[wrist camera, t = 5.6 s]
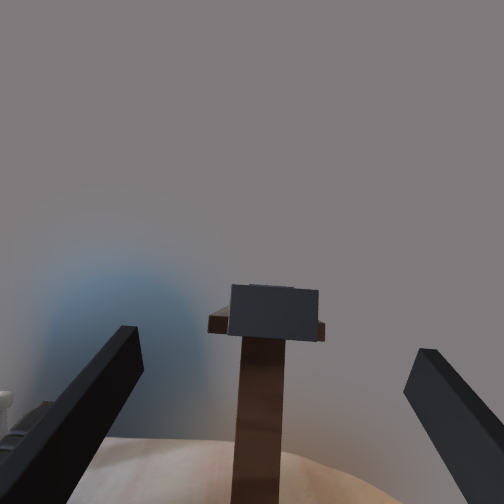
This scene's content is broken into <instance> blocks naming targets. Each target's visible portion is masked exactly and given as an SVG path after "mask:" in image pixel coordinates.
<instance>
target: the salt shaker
mask: <svg viewBox="0 0 504 504" xmlns="http://www.w3.org/2000/svg"><path fill="white" fill-rule="evenodd" d="M13 400H14V394H13V393H11V392H9V391H0V440H1V439H2V438H3V437H4V436H5V435H7V434H8V430H7V409H8V408H9V407H11V405H12V403H13Z"/></svg>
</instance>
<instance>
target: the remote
mask: <svg viewBox="0 0 504 504" xmlns="http://www.w3.org/2000/svg"><path fill="white" fill-rule="evenodd" d="M318 297H319V291H318V290H310V289H295V288H294V287H285V286H269V285H254V284H249V285H235V284H232V285H231V294H230V306H229V319H228V332H227V335H231V336H244V337H258V338H271V339H285V340H298V341H312V342H317V341H318Z"/></svg>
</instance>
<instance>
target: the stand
mask: <svg viewBox="0 0 504 504" xmlns="http://www.w3.org/2000/svg"><path fill="white" fill-rule="evenodd" d="M229 306H230V305H229ZM229 306H227V307H225V308H223V309H221V310H219V311H217V312H215V313H213V314H211V315H209V320H208V331H207V332H208V333H215V334H227V332H228V319H229ZM318 341H323V342H324V341H325V323H323V322H321V321H319V320H318ZM285 342H286V340H285V339H271V338H258V337H244V336H242V346H241V347H242V348H241V360H240V375H239V389H238V404H237V418H236V432H235V446H234V461H233V475H232V489H231V504H279V482H280V459H281V435H282V412H283V388H284V364H285Z"/></svg>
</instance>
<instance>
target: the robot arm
mask: <svg viewBox="0 0 504 504" xmlns="http://www.w3.org/2000/svg"><path fill="white" fill-rule="evenodd" d="M143 371H144V366H143V360H142V353H141V347H140V341H139V334H138V328H137V327H135V326H121V327H120V328H119V329H118V330H117V331H116V333H115V334H114V335H113V336H112V337H111V338H110V339H109V341H108V342H107V343H106V344H105V345H104V346H103V347H102V348H101V350H100V351H99V352H98V353H97V354H96V355H95V356H94V358H93V359H92V360H91V361H90V362H89V363H88V365H87V366H86V367H85V368H84V369H83V370H82V371H81V372H80V374H79V375H78V376H77V377H76V378H75V379H74V380H73V382H72V383H71V384H70V385H69V386H68V387H67V388H66V389H65V391H64V392H63V393H62V394H61V395H60V396H59V397H58V399H57V400H56V401H55V402H50V401H43V402H42V403H40V404H39V405H37V406H36V407H35V408H33V409H32V410H30V411H29V412H28V413H26V414H25V415H24V416H23V417H22V418H21V419H20V420H19V421H18V422H17V423H16V424H15V425H14V426H13V428H11V430H10V431H9V433H8V434H7V435H5V436H4V437H3V438H2V439H1V440H0V504H66V503H67V501H68V500H69V498H70V496H71V494H72V493H73V491H74V489H75V488H76V486H77V484H78V482H79V481H80V479H81V477H82V476H83V474H84V472H85V470H86V469H87V467H88V465H89V464H90V462H91V460H92V459H93V457H94V455H95V453H96V452H97V450H98V448H99V447H100V445H101V443H102V441H103V440H104V438H105V436H106V435H107V433H108V431H109V429H110V428H111V426H112V424H113V423H114V421H115V419H116V418H117V416H118V414H119V412H120V411H121V409H122V407H123V406H124V404H125V402H126V400H127V399H128V397H129V395H130V394H131V392H132V390H133V389H134V386H135V385H136V383H137V382H138V380H139V378H140V376H141V375H142V373H143ZM403 393H404V394H405V396H406V398H407V399H408V401H409V403H410V405H411V406H412V408H413V410H414V411H415V413H416V415H417V416H418V418H419V420H420V422H421V423H422V425H423V427H424V428H425V430H426V432H427V434H428V435H429V437H430V439H431V441H432V442H433V444H434V446H435V448H436V449H437V451H438V453H439V454H440V456H441V458H442V460H443V461H444V463H445V465H446V466H447V468H448V470H449V471H450V473H451V475H452V477H453V478H454V480H455V482H456V484H457V485H458V487H459V489H460V490H461V492H462V494H463V496H464V497H465V499H466V501H467V503H468V504H504V425H503V424H502V422H501V421H500V420H499V419H498V418H497V417H496V416H495V414H493V412H492V411H491V410H490V409H489V408H488V407H487V406H486V405H485V403H484V402H483V401H482V400H481V399H480V398H479V397H478V395H477V394H476V393H475V392H474V391H473V390H472V389H471V387H470V386H469V385H468V384H467V383H466V382H465V381H464V380H463V379H462V377H461V376H460V375H459V374H458V373H457V372H456V371H455V370H454V369H453V367H452V366H451V365H450V364H449V363H448V362H447V361H446V359H445V358H444V357H443V356H442V355H441V354H440V353H439V352H438V350H436V349H423V348H420V349H419V351H418V354H417V356H416V359H415V362H414V365H413V367H412V370H411V373H410V375H409V378H408V380H407V383H406V386H405V389H404V392H403Z"/></svg>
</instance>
